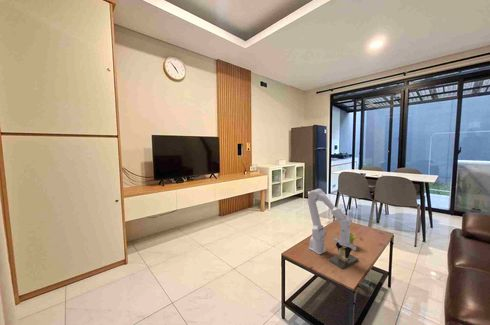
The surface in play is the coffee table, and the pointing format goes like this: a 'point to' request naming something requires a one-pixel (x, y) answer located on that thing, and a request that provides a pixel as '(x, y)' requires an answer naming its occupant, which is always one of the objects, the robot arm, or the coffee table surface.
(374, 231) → the coffee table surface
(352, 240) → the plant pot
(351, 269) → the coffee table surface
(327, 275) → the coffee table surface
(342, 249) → the birch peg
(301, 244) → the coffee table surface
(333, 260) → the slotted plate
